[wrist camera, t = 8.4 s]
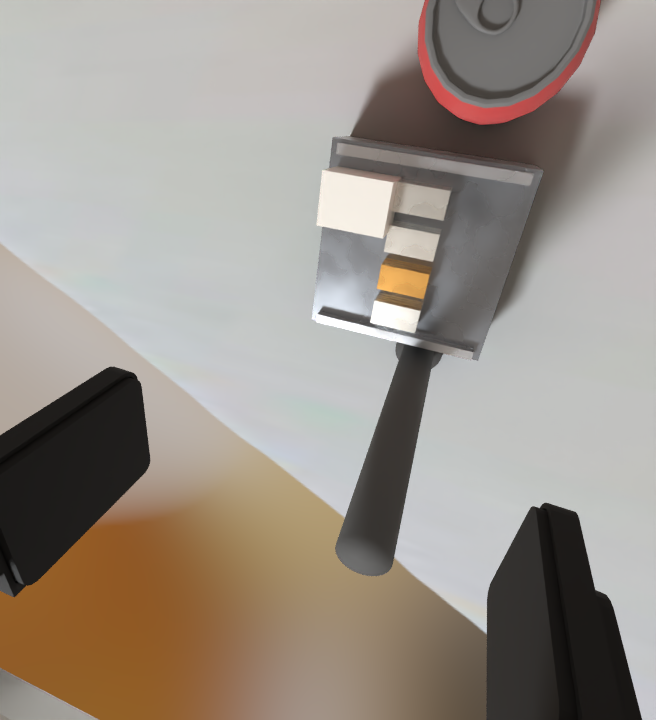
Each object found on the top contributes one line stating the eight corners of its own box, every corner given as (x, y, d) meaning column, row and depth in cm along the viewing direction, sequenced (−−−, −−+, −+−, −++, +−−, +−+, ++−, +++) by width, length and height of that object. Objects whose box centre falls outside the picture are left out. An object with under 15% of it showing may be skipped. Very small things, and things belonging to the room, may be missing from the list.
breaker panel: (535, 165, 27) (548, 173, 22) (477, 336, 33) (477, 371, 28) (349, 136, 29) (324, 137, 24) (327, 301, 35) (304, 328, 30)
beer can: (476, -36, 23) (475, -160, 13) (586, 18, 23) (671, -68, 13) (416, 96, 27) (379, 77, 17) (511, 144, 27) (531, 154, 16)
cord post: (448, 332, 33) (416, 541, 16) (436, 371, 35) (397, 597, 18) (402, 321, 34) (326, 511, 17) (393, 360, 36) (317, 567, 19)
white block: (401, 177, 26) (393, 182, 23) (391, 228, 27) (382, 238, 24) (337, 166, 26) (322, 170, 24) (331, 216, 28) (316, 225, 25)
